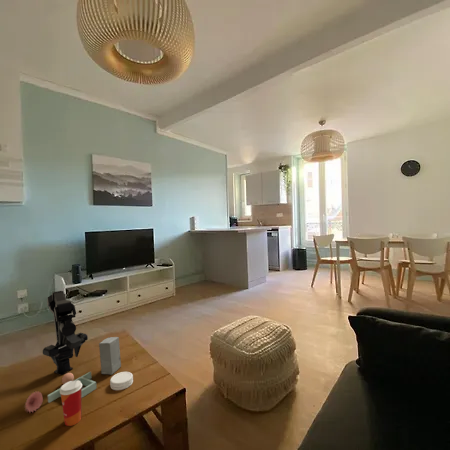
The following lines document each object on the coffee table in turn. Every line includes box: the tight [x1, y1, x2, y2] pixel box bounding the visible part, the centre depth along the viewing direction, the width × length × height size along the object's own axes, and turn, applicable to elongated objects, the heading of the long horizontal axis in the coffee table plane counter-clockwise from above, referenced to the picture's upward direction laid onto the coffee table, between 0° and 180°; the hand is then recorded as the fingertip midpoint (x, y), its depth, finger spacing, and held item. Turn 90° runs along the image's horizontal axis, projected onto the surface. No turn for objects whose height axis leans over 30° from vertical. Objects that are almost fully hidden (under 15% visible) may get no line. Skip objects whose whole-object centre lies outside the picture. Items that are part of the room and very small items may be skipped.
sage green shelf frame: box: [47, 371, 97, 403], centre depth 124 cm, size 11×20×3 cm, turn 151°
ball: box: [61, 372, 75, 385], centre depth 131 cm, size 5×5×5 cm
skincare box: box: [98, 336, 122, 376], centre depth 141 cm, size 8×7×16 cm
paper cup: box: [60, 379, 83, 427], centre depth 106 cm, size 8×8×14 cm
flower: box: [24, 390, 44, 414], centre depth 114 cm, size 8×8×6 cm
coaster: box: [109, 371, 134, 391], centre depth 129 cm, size 10×10×4 cm
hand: (67, 361), depth 131 cm, fingers open, 9 cm apart
